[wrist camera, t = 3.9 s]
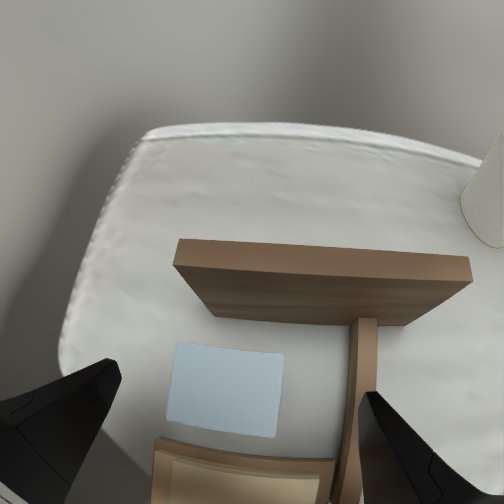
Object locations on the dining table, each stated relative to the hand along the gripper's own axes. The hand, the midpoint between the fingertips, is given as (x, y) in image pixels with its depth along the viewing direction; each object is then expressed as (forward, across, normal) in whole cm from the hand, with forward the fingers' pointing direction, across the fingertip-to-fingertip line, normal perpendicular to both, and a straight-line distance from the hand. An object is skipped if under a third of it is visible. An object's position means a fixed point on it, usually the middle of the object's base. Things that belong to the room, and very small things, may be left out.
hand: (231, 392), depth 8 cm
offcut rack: (+4, -2, +8) cm, 9 cm away
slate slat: (+6, 0, +6) cm, 8 cm away
